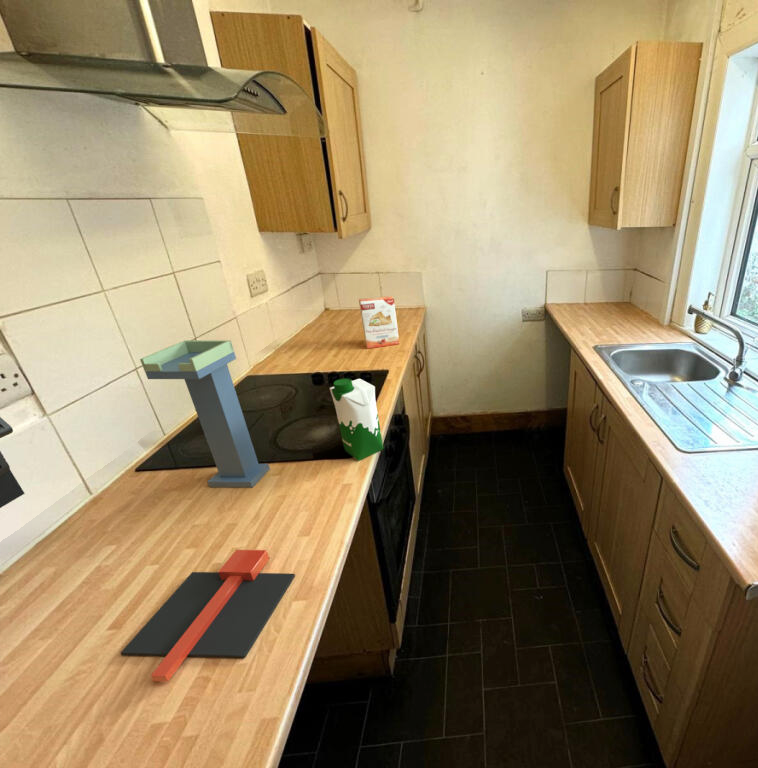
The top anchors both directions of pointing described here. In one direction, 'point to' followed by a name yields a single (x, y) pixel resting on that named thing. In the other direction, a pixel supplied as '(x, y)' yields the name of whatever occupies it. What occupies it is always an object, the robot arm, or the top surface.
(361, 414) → the milk carton
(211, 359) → the stand
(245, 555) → the red toy mallet
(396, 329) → the cracker box
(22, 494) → the robot arm
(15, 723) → the top surface
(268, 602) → the mat
